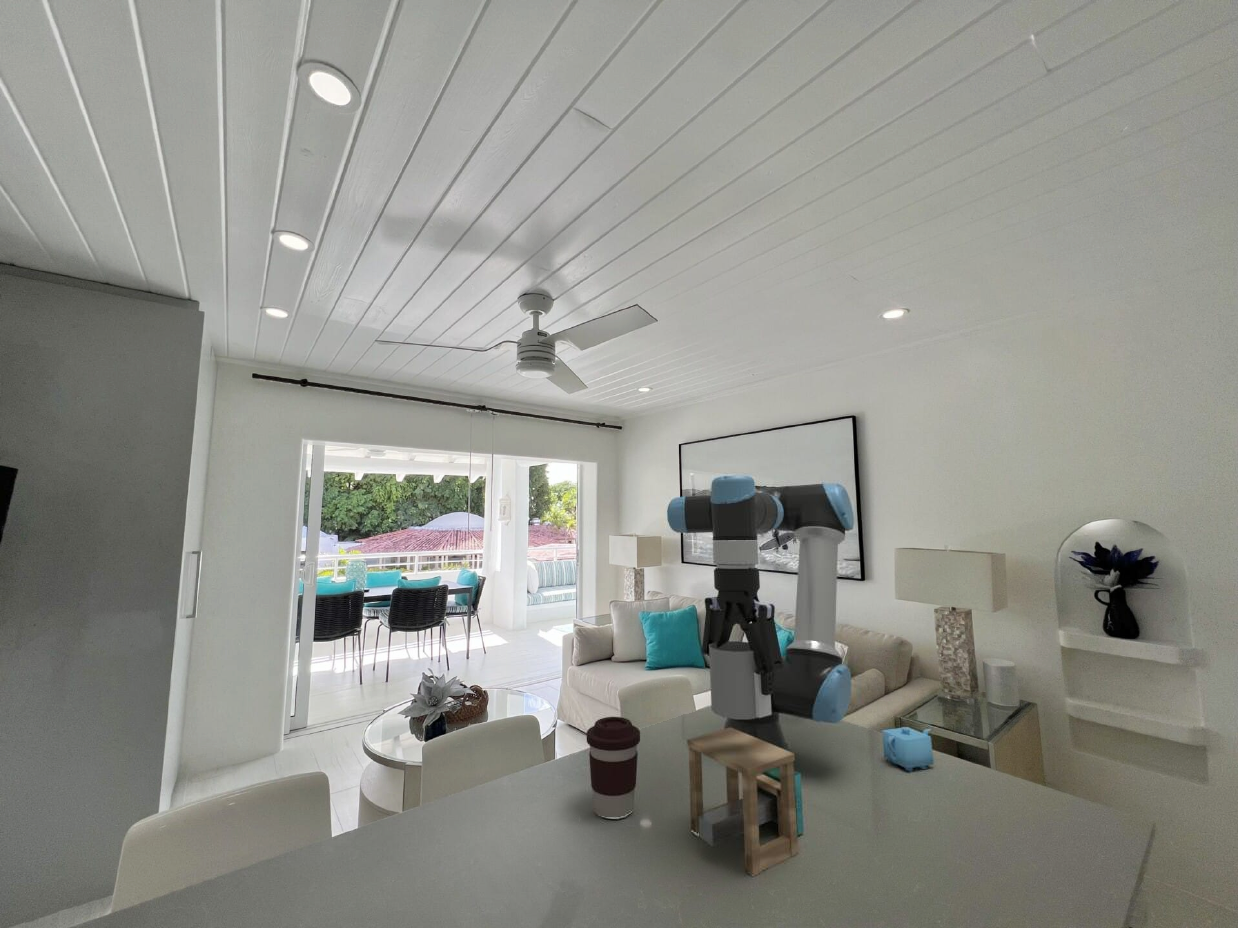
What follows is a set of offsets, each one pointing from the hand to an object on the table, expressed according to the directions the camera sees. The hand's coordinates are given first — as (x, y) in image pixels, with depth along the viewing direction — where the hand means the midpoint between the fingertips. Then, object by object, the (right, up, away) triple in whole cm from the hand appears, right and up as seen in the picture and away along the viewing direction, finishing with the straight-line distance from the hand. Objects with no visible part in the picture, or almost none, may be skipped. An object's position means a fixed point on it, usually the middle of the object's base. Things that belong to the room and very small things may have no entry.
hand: (741, 707), depth 83 cm
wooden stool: (+1, -21, 0) cm, 21 cm away
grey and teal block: (+1, -21, 0) cm, 21 cm away
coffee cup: (-21, -23, +9) cm, 33 cm away
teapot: (+43, -26, +27) cm, 57 cm away
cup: (-1, 0, -1) cm, 1 cm away
